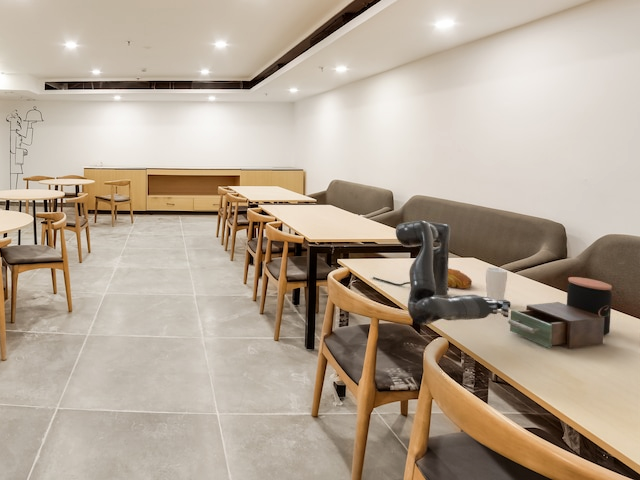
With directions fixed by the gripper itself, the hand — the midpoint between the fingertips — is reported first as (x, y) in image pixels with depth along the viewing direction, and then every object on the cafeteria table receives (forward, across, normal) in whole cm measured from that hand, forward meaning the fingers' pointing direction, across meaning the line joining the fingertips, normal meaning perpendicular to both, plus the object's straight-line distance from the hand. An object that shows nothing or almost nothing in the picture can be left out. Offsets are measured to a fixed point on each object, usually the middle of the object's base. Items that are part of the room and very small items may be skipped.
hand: (507, 303), depth 124 cm
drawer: (+15, 0, +13) cm, 20 cm away
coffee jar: (+43, +3, +14) cm, 46 cm away
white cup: (+34, +27, +14) cm, 46 cm away
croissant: (+37, +49, +14) cm, 63 cm away
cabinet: (+26, 0, +14) cm, 30 cm away
